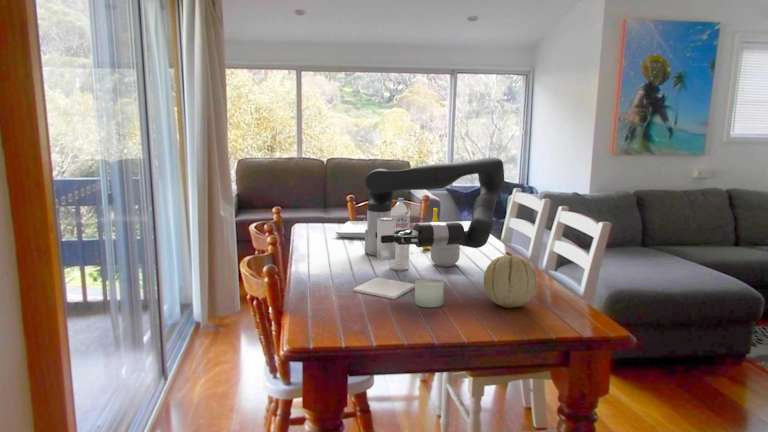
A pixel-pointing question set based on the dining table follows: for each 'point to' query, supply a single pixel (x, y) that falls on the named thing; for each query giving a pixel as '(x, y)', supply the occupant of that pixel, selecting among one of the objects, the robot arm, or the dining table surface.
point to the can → (386, 228)
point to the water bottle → (402, 251)
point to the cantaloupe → (510, 281)
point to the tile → (384, 288)
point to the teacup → (445, 255)
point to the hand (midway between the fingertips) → (378, 237)
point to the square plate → (353, 229)
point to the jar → (429, 293)
